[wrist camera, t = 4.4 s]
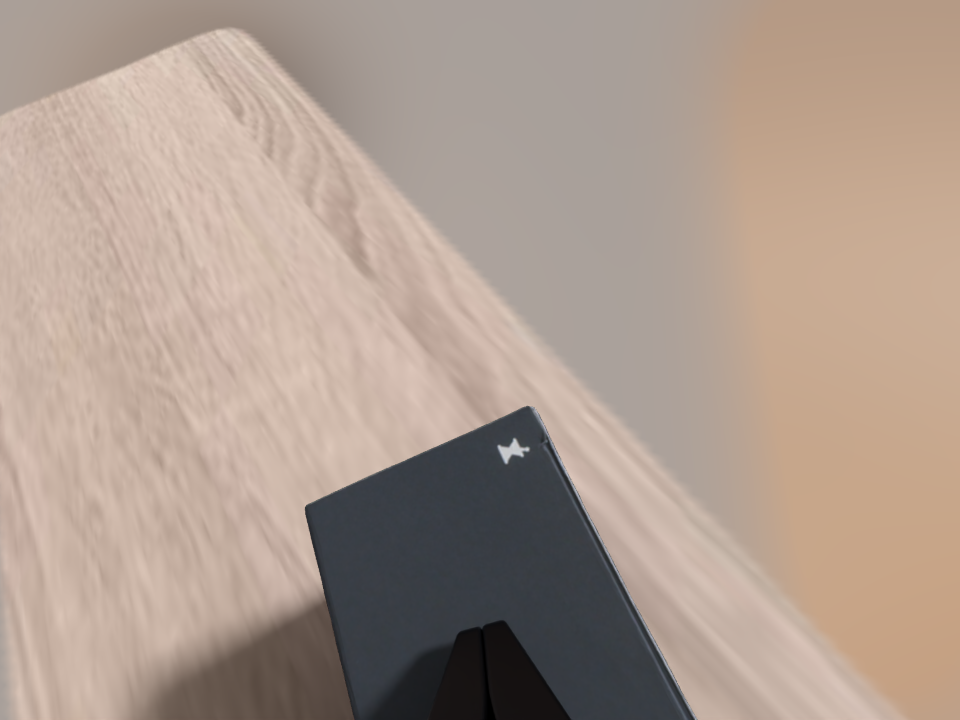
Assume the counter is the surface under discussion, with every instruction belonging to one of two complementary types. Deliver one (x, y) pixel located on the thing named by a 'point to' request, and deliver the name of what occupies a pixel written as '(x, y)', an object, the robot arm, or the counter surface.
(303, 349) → the counter surface
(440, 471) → the box
